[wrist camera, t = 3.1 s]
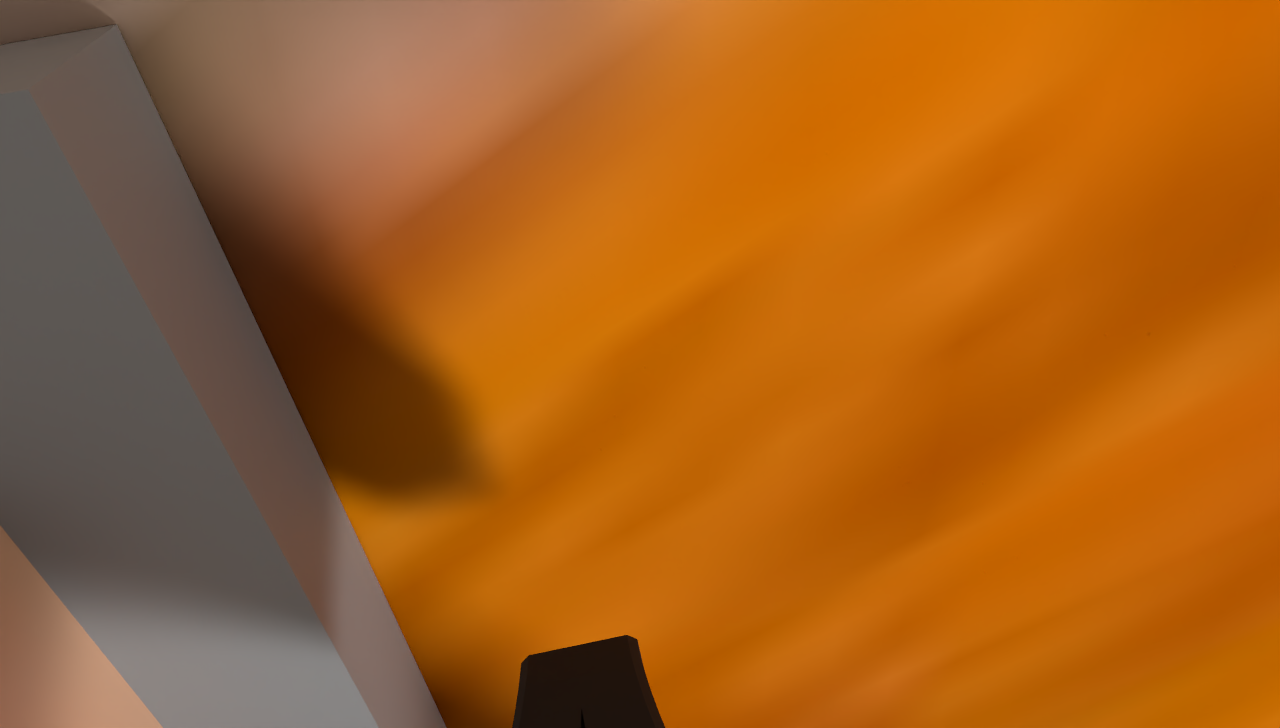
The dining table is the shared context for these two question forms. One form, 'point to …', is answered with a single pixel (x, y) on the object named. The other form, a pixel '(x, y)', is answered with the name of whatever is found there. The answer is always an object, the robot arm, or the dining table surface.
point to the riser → (167, 427)
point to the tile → (54, 660)
